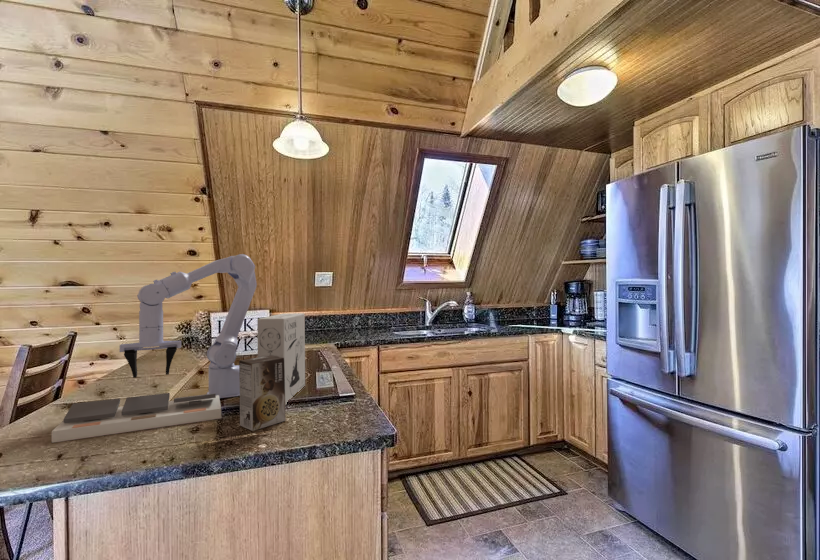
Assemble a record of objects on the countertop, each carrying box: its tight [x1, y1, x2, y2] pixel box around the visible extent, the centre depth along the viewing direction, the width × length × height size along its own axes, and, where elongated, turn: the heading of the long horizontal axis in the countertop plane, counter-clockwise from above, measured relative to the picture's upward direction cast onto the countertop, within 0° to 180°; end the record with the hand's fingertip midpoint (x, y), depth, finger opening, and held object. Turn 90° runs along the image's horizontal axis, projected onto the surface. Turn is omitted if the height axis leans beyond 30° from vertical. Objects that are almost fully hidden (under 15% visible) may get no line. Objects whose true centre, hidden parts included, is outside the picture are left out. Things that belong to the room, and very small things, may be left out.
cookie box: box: [238, 355, 287, 432], centre depth 101 cm, size 9×6×16 cm
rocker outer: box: [62, 398, 121, 423], centre depth 99 cm, size 10×8×1 cm
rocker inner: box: [173, 393, 216, 403], centre depth 109 cm, size 10×8×1 cm
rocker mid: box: [121, 392, 171, 416], centre depth 104 cm, size 10×8×1 cm
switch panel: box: [51, 395, 222, 443], centre depth 104 cm, size 34×15×3 cm, turn 117°
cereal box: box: [257, 312, 306, 406], centre depth 126 cm, size 22×8×25 cm, turn 179°
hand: (151, 375), depth 114 cm, fingers open, 7 cm apart
